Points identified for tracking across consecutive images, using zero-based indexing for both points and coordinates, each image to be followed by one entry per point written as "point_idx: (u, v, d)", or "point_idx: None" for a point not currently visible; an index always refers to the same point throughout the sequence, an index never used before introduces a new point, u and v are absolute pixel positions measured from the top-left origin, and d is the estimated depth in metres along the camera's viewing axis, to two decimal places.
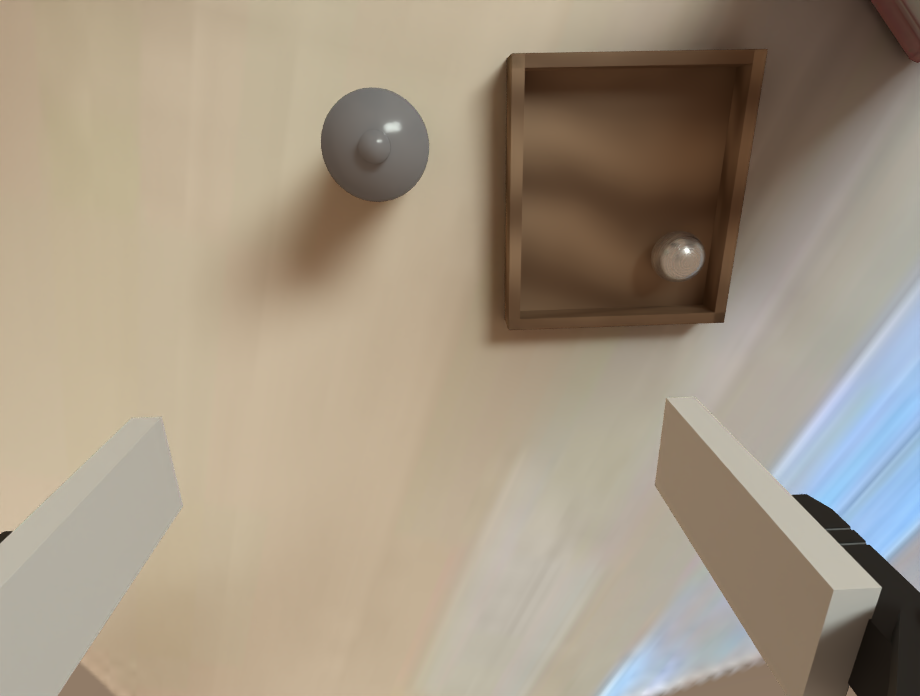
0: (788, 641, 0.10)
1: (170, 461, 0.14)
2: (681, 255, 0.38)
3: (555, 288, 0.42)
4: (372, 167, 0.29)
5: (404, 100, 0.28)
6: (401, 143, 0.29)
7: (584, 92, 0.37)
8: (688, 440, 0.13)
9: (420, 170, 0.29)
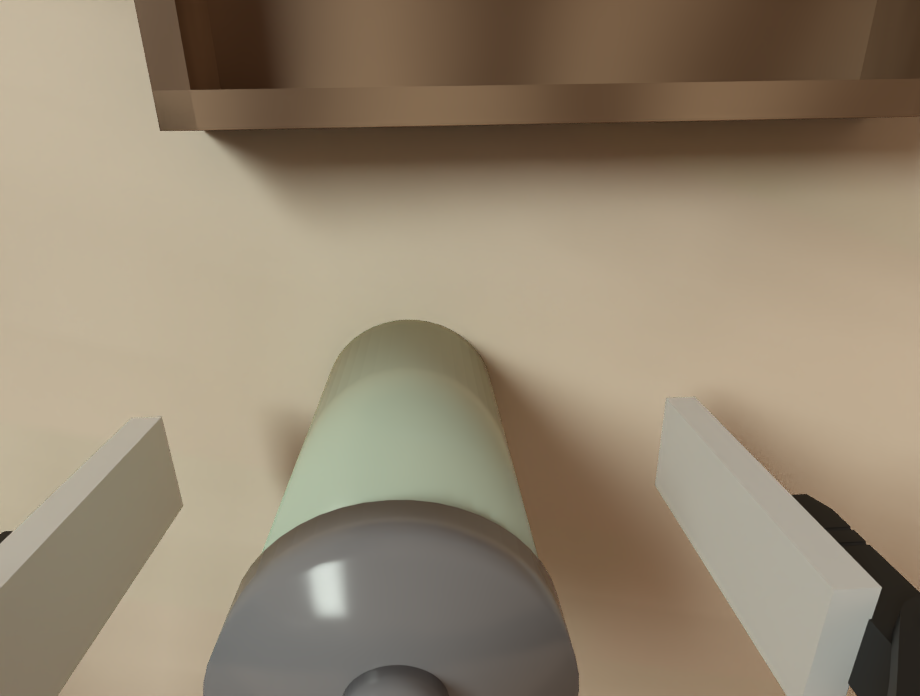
0: (788, 641, 0.10)
1: (170, 461, 0.14)
2: None
3: None
4: None
5: (230, 633, 0.08)
6: (380, 637, 0.08)
7: None
8: (688, 439, 0.13)
9: (476, 580, 0.08)
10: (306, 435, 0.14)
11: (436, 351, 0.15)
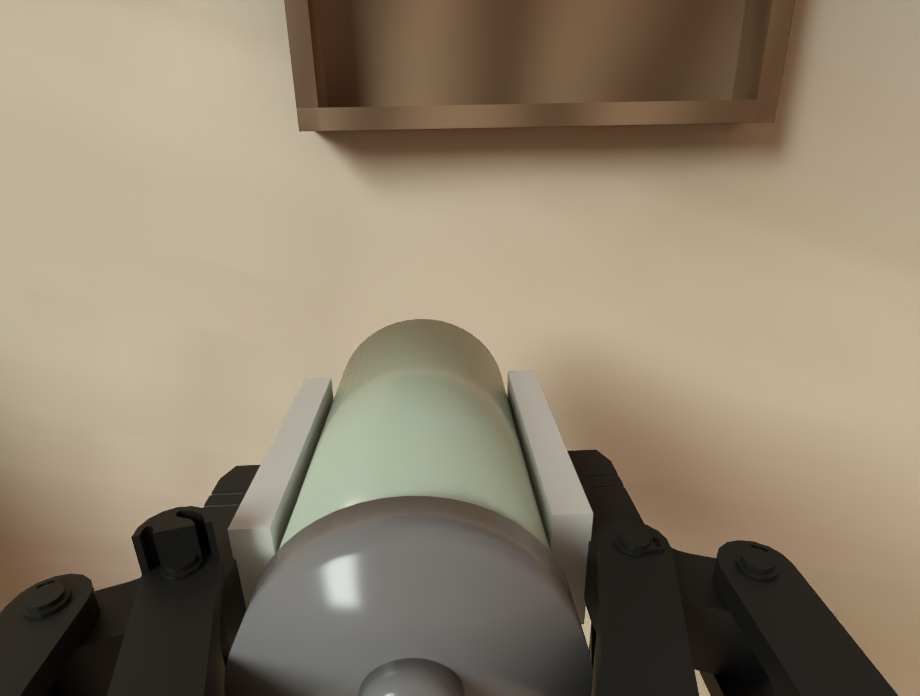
0: None
1: None
2: None
3: (701, 19, 0.22)
4: None
5: (251, 624, 0.08)
6: (398, 630, 0.08)
7: None
8: (514, 406, 0.15)
9: (492, 575, 0.08)
10: None
11: (450, 350, 0.15)
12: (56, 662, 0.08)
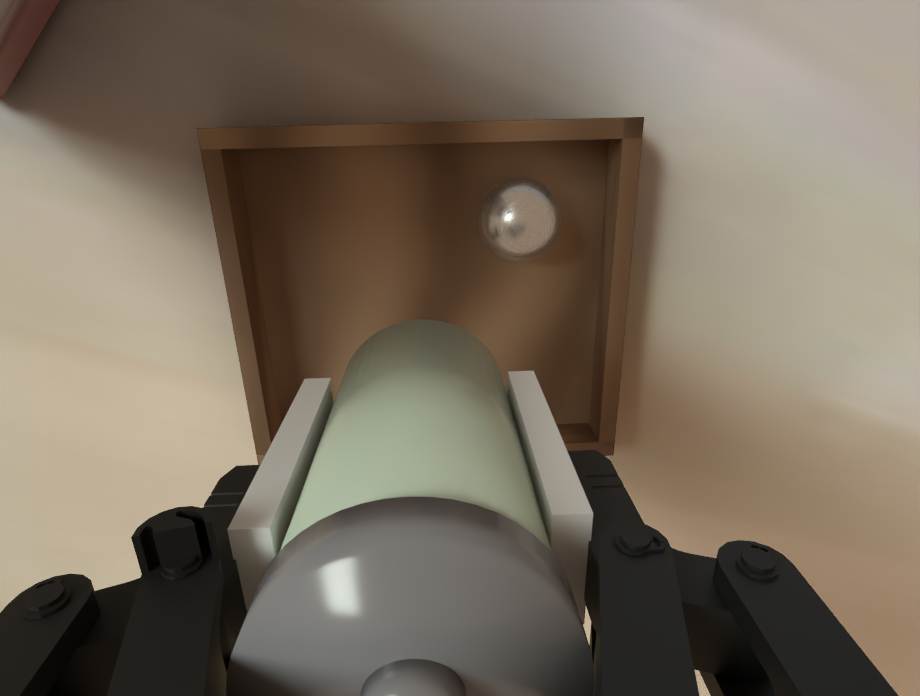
0: None
1: None
2: (513, 238, 0.23)
3: (561, 373, 0.29)
4: None
5: (253, 625, 0.08)
6: (400, 631, 0.08)
7: (298, 358, 0.28)
8: (514, 406, 0.15)
9: (494, 576, 0.08)
10: None
11: (451, 350, 0.15)
12: (56, 662, 0.08)
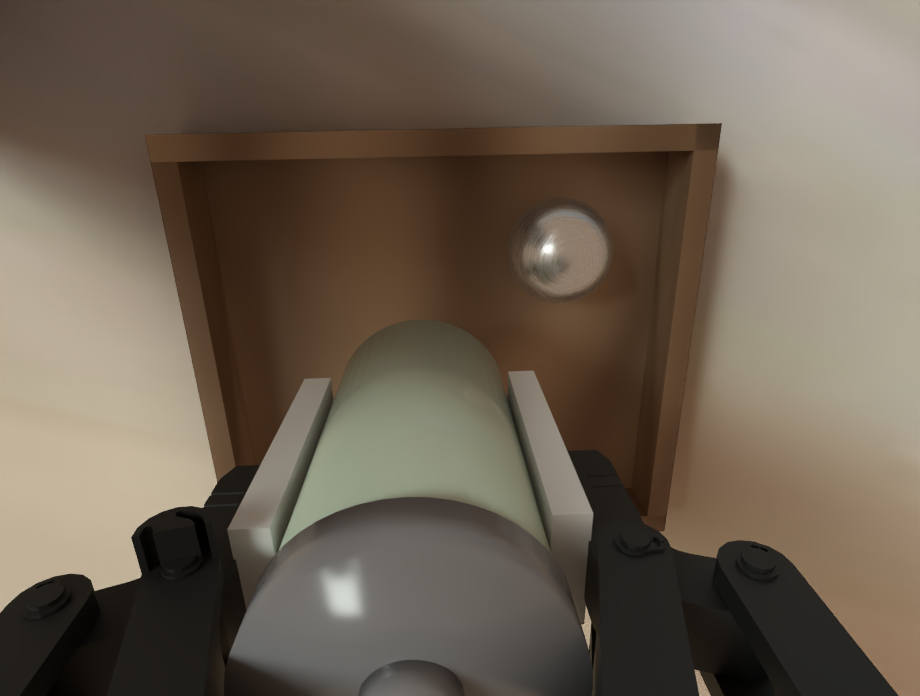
0: None
1: None
2: (555, 277, 0.18)
3: (599, 431, 0.24)
4: None
5: (250, 626, 0.08)
6: (398, 632, 0.08)
7: (280, 416, 0.23)
8: (514, 406, 0.15)
9: (493, 576, 0.08)
10: (321, 433, 0.14)
11: (450, 350, 0.15)
12: (56, 662, 0.08)
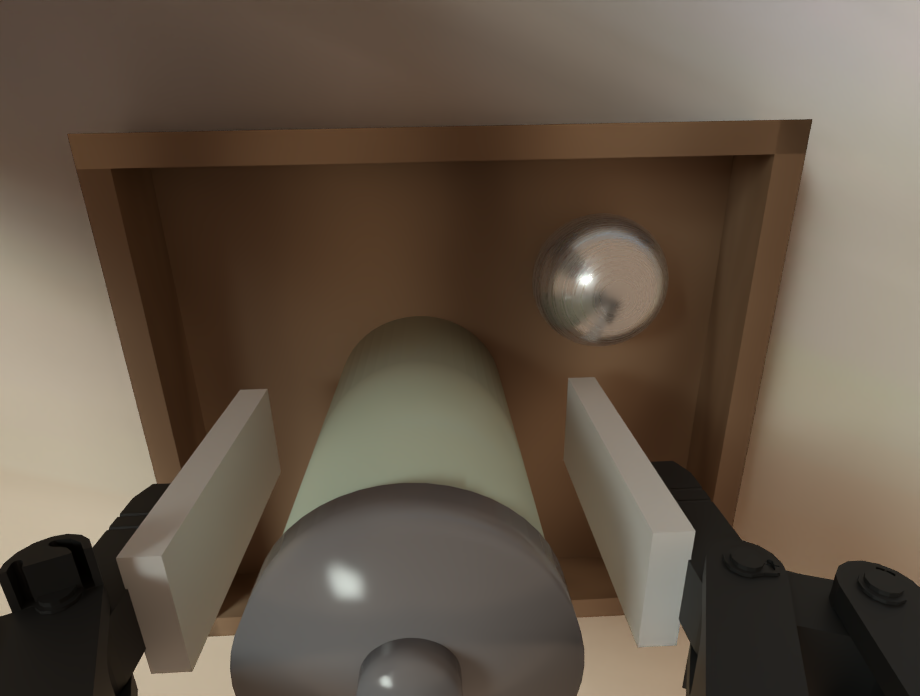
0: (632, 584, 0.11)
1: (272, 431, 0.16)
2: (597, 317, 0.14)
3: None
4: (475, 682, 0.09)
5: (256, 605, 0.08)
6: (397, 611, 0.08)
7: None
8: (580, 415, 0.14)
9: (488, 557, 0.08)
10: (322, 426, 0.14)
11: (448, 346, 0.15)
12: None
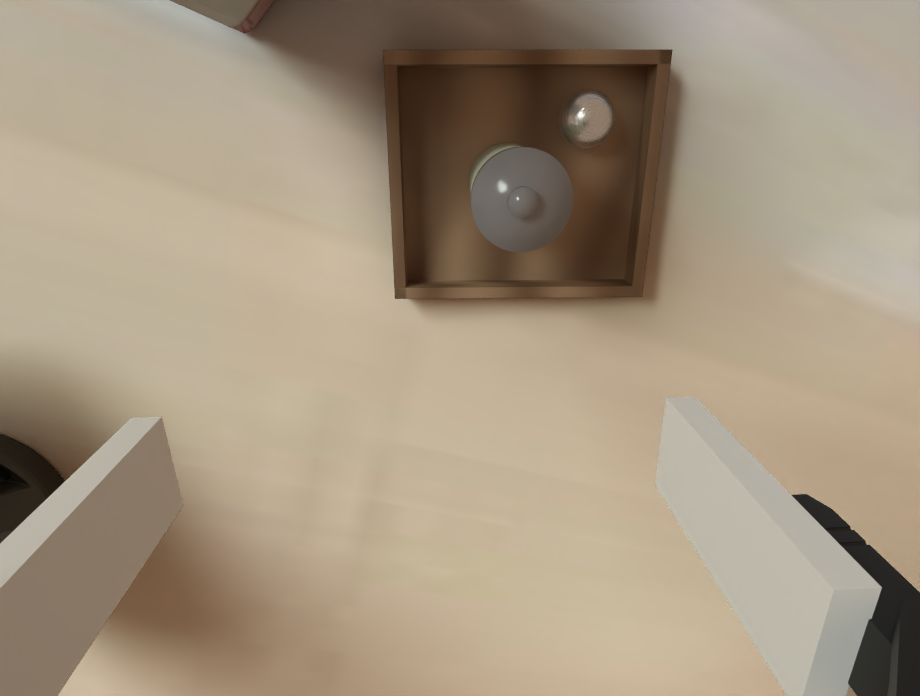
0: (788, 641, 0.10)
1: (170, 462, 0.14)
2: (584, 127, 0.35)
3: (606, 240, 0.41)
4: (540, 205, 0.30)
5: (483, 170, 0.29)
6: (521, 175, 0.30)
7: (424, 222, 0.40)
8: (688, 439, 0.13)
9: (547, 157, 0.29)
10: (473, 171, 0.35)
11: None
12: None
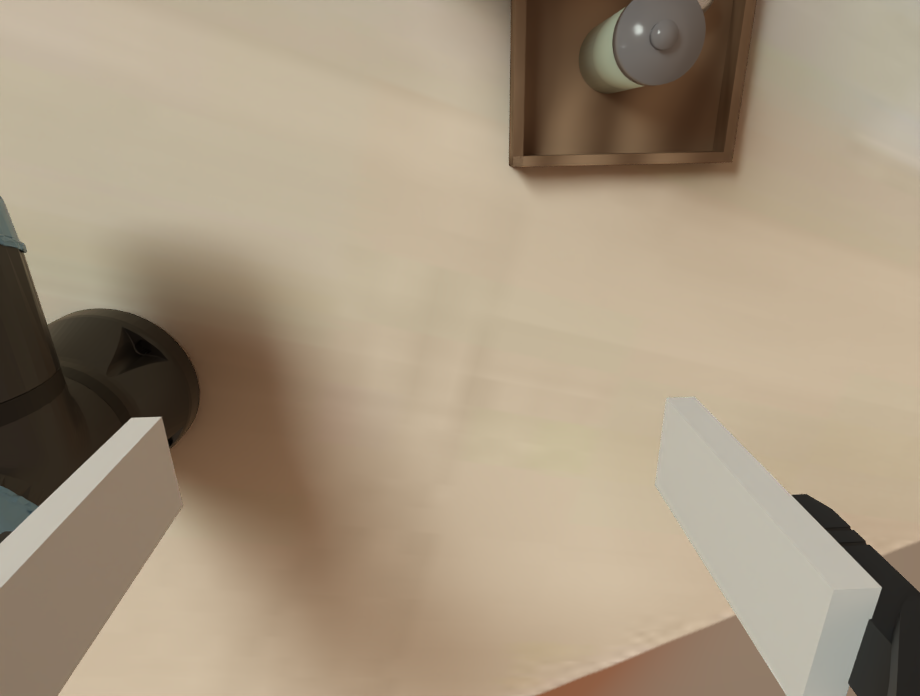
0: (788, 641, 0.10)
1: (170, 461, 0.14)
2: None
3: (697, 113, 0.46)
4: (677, 40, 0.35)
5: (631, 5, 0.34)
6: (662, 11, 0.34)
7: (537, 98, 0.45)
8: (689, 439, 0.13)
9: None
10: (596, 34, 0.40)
11: None
12: None
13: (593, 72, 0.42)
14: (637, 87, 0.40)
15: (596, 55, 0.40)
